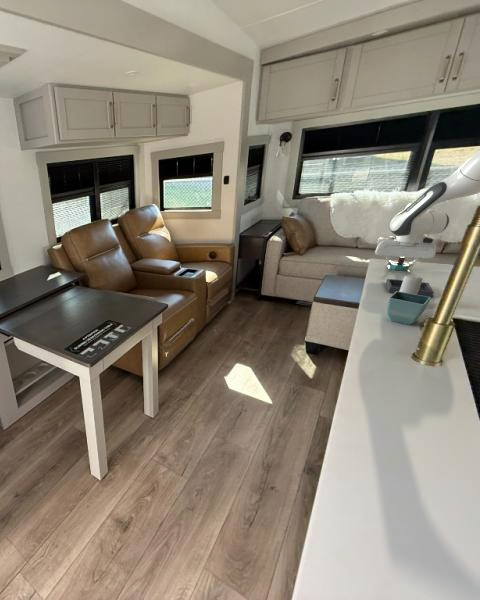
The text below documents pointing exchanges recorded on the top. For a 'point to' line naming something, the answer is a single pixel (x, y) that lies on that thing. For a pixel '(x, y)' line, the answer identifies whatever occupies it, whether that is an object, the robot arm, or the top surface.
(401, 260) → the peg stand
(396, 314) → the flower pot
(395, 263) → the ring
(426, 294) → the tray
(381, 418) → the top surface
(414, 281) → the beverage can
